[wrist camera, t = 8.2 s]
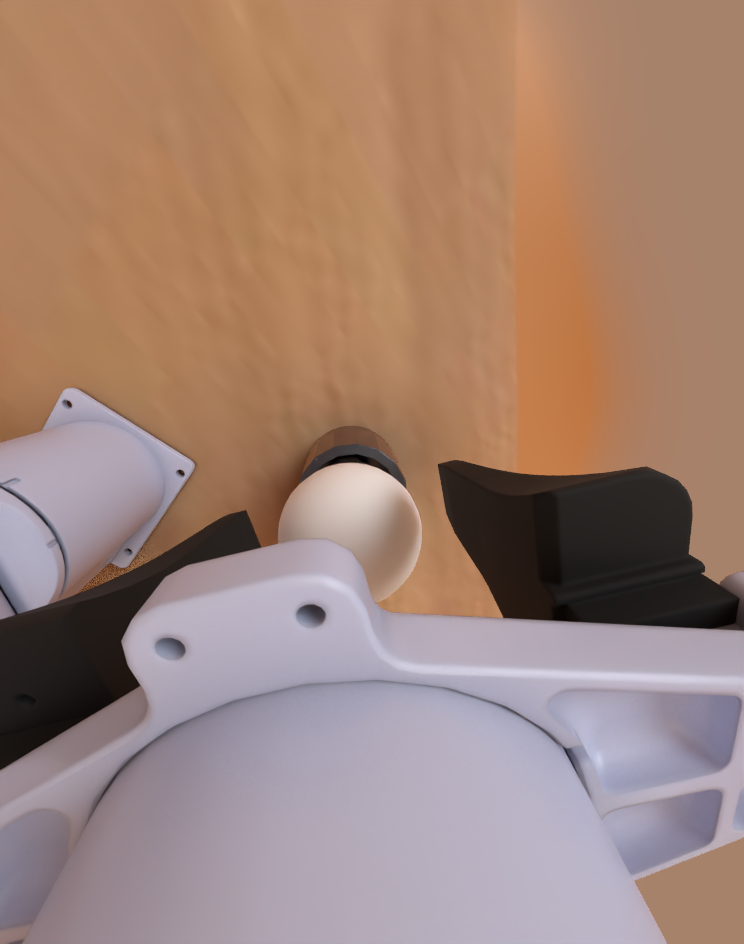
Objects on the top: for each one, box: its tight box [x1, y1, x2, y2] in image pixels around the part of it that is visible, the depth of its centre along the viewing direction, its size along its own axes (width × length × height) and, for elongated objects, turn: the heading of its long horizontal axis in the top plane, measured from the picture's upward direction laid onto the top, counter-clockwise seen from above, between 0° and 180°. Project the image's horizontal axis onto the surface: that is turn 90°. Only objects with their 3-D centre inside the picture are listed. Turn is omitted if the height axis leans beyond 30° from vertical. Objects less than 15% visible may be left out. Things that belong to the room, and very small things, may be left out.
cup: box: [300, 426, 406, 489], centre depth 21 cm, size 6×6×4 cm
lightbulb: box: [278, 456, 422, 603], centre depth 17 cm, size 6×6×11 cm
